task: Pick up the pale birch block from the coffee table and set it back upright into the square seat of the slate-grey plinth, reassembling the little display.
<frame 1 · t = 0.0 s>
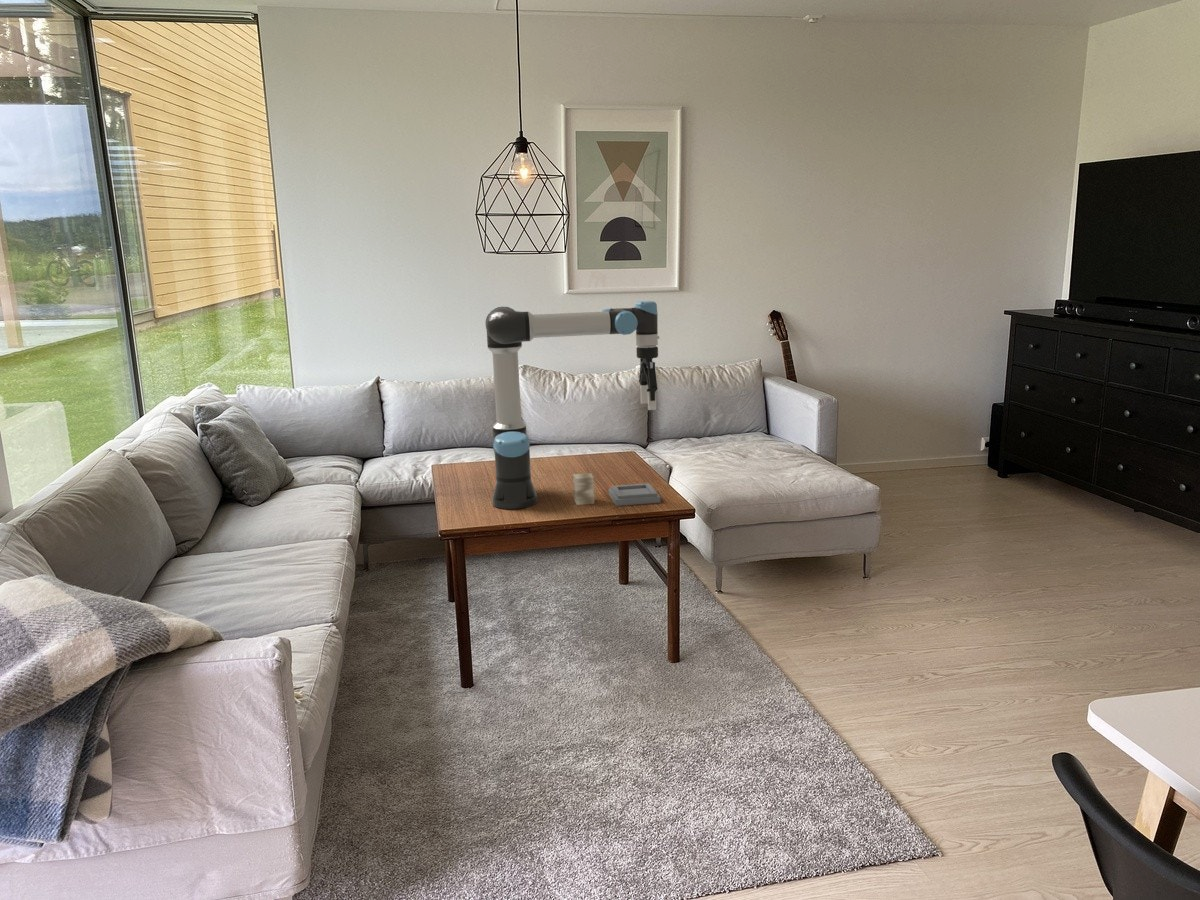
hand: (648, 406, 309), 28 cm above the table, fingers open, 13 cm apart
slate plinth: (634, 498, 296), on the table
birch block: (584, 501, 294), on the table
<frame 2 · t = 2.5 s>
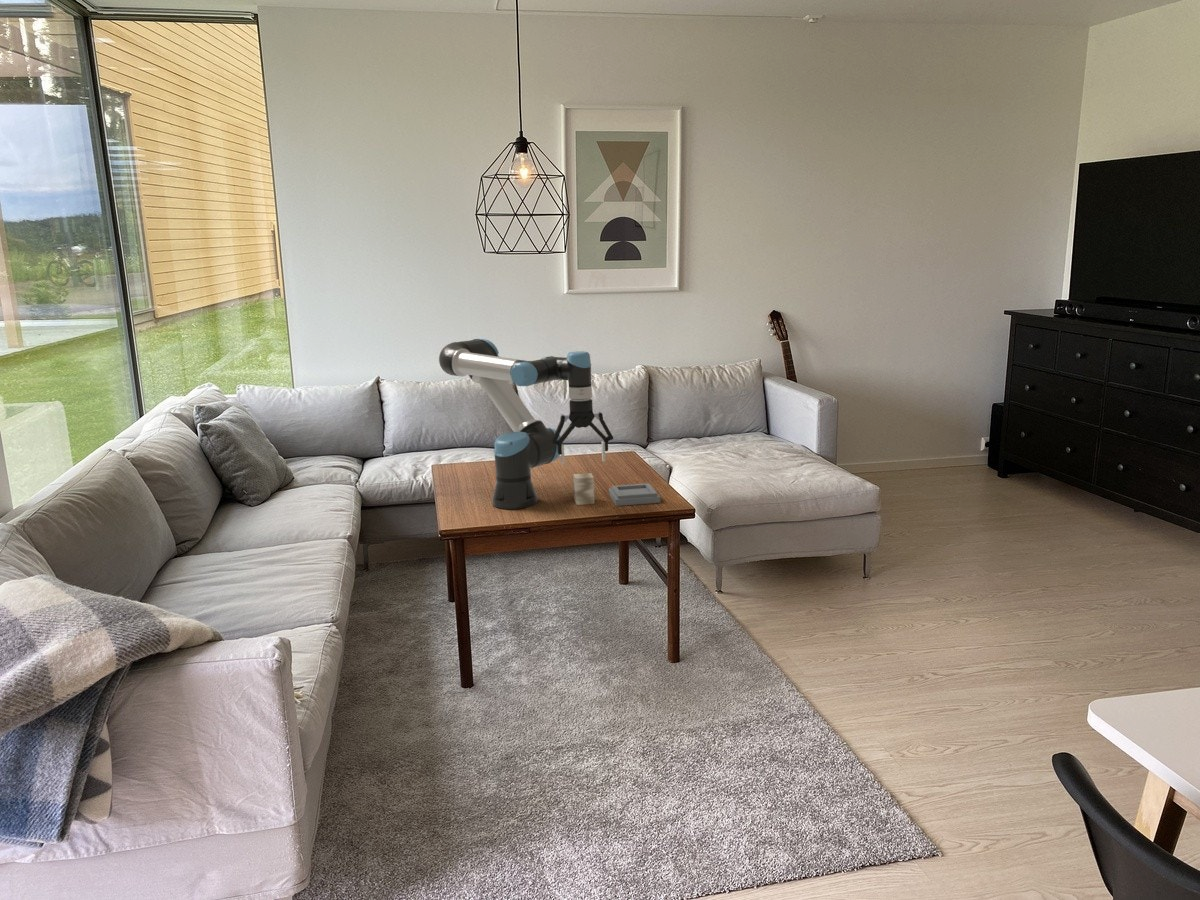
hand: (583, 462, 291), 14 cm above the table, fingers open, 13 cm apart
nothing on the table moved.
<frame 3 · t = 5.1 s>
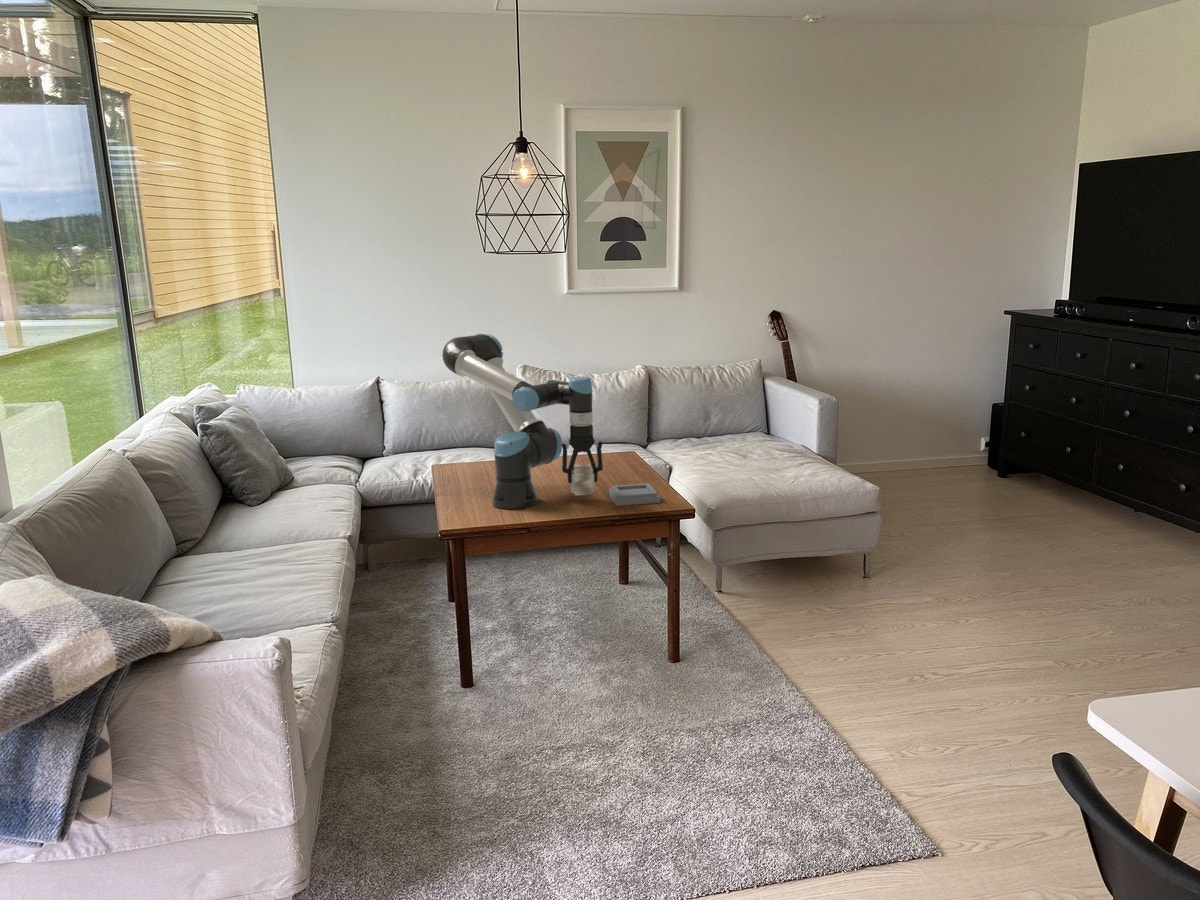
hand: (582, 491, 293), 3 cm above the table, fingers closed on birch block, 6 cm apart
birch block: (582, 492, 294), point 3 cm above the table, touching gripper
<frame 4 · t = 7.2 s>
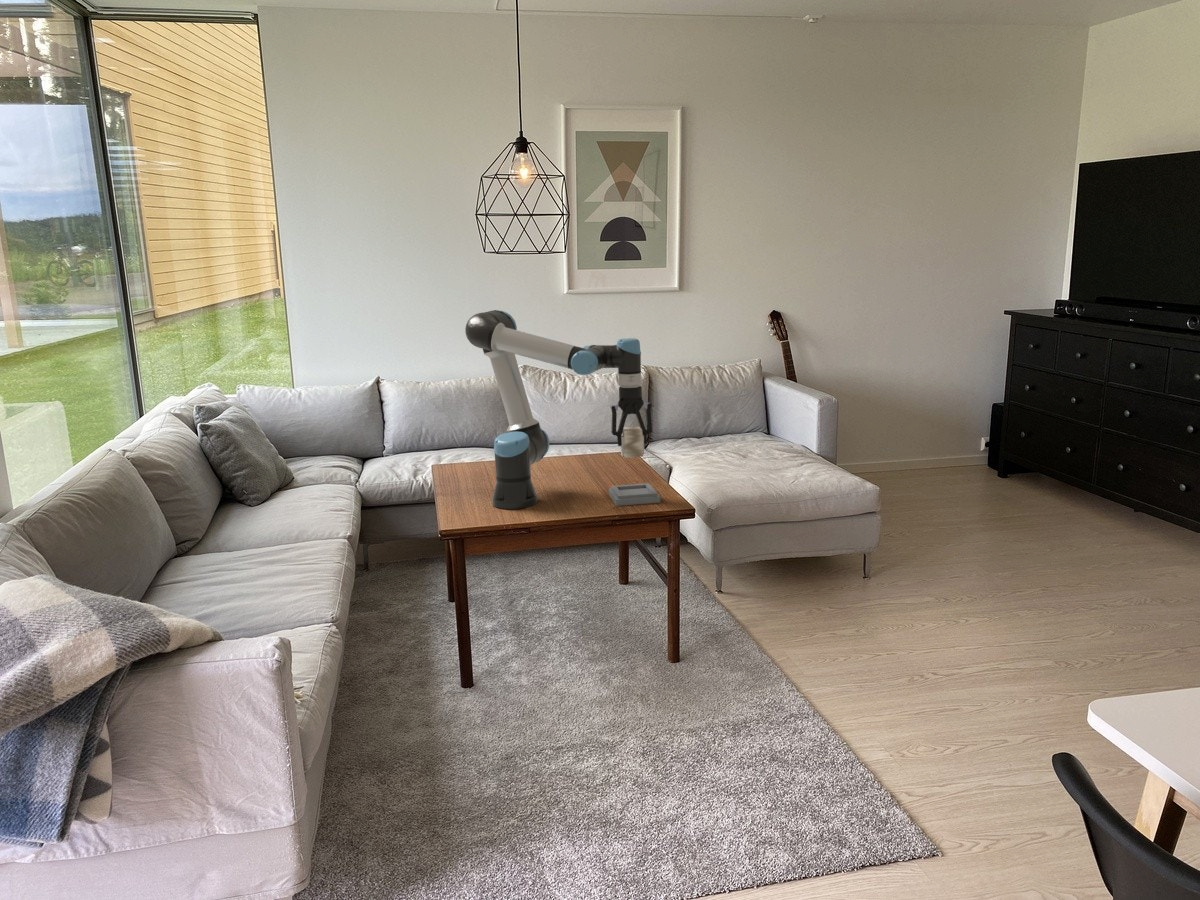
hand: (632, 454, 292), 15 cm above the table, fingers closed on birch block, 6 cm apart
birch block: (632, 455, 293), point 15 cm above the table, touching gripper
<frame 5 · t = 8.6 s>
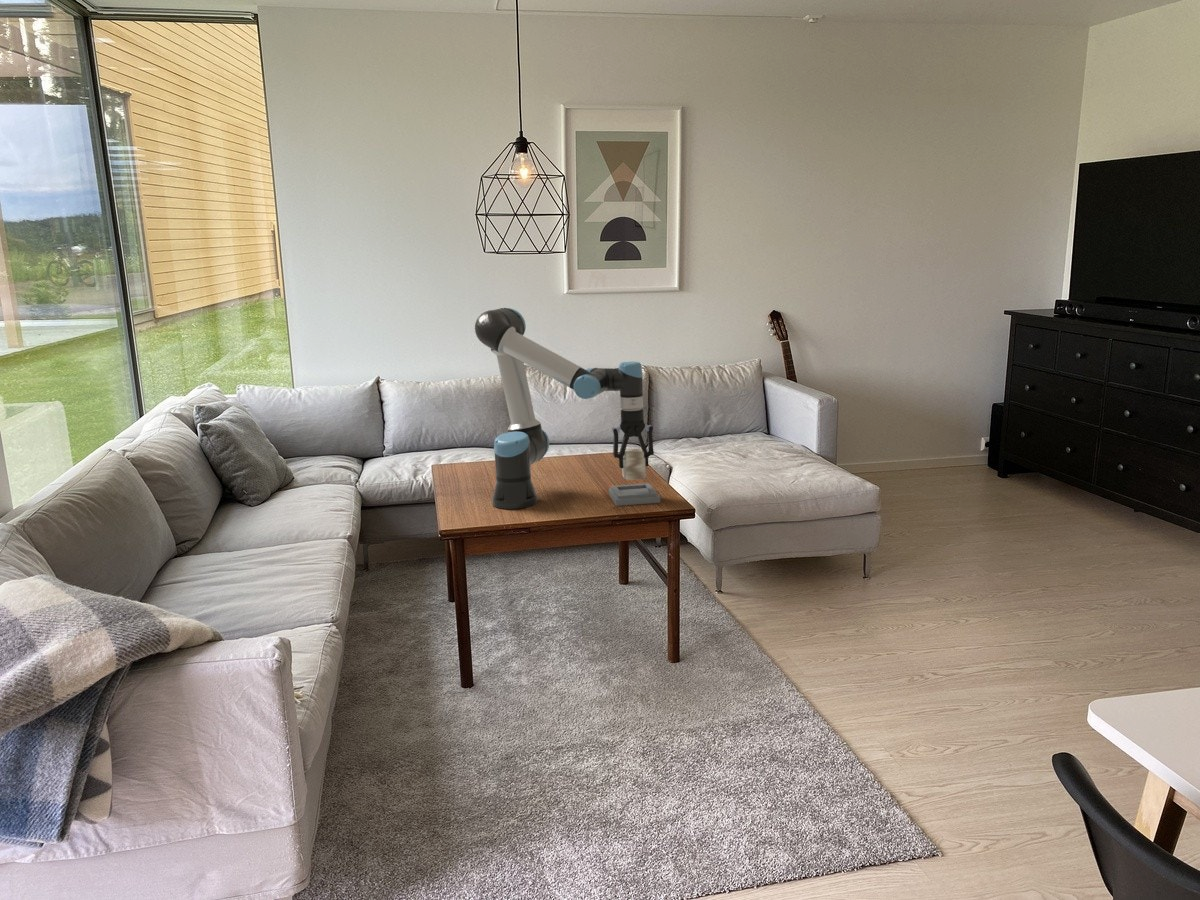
hand: (634, 476, 294), 8 cm above the table, fingers closed on birch block, 6 cm apart
birch block: (634, 477, 294), point 7 cm above the table, touching gripper
when the fingers open (4 cm above the table, at t = 9.5 s): birch block drops 2 cm, resting on slate plinth.
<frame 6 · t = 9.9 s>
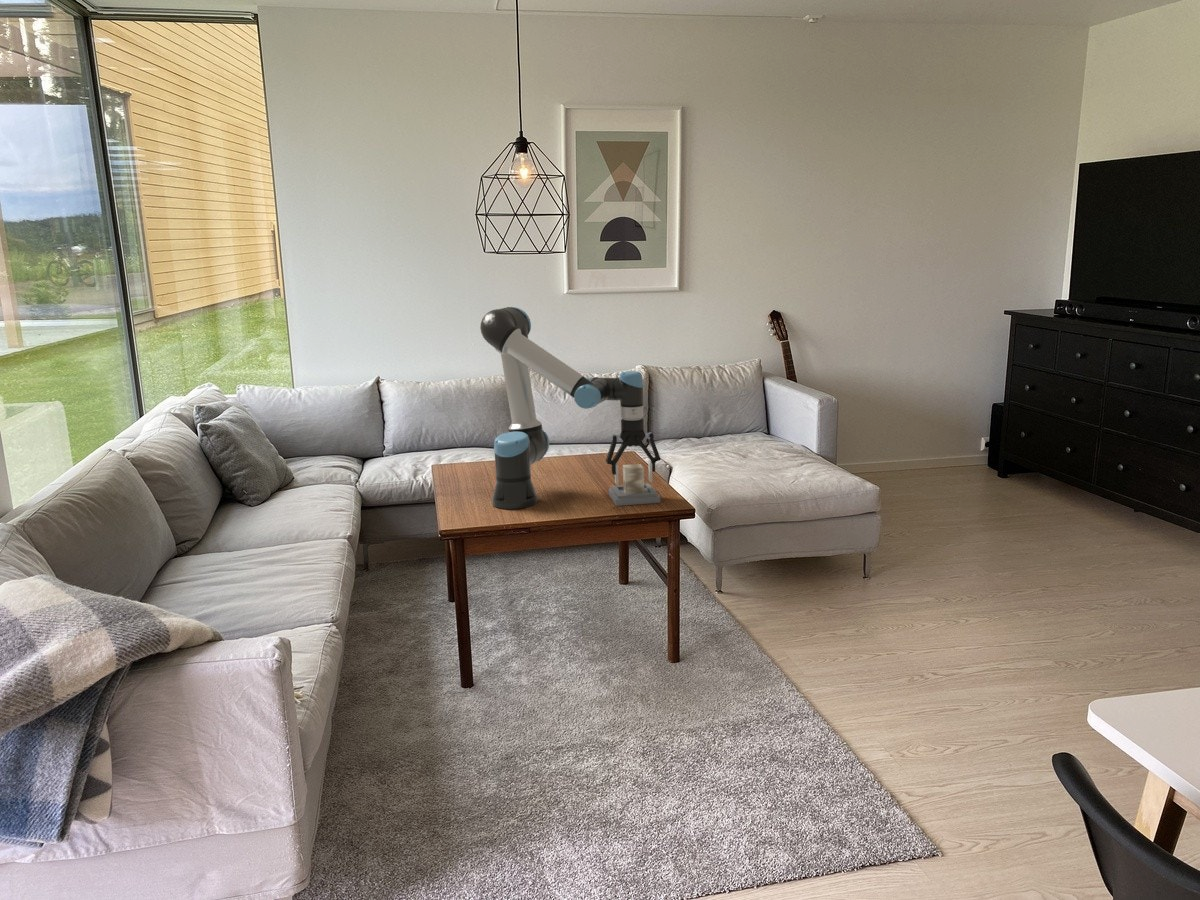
hand: (633, 482, 295), 5 cm above the table, fingers open, 11 cm apart
birch block: (633, 492, 296), point 2 cm above the table, touching slate plinth
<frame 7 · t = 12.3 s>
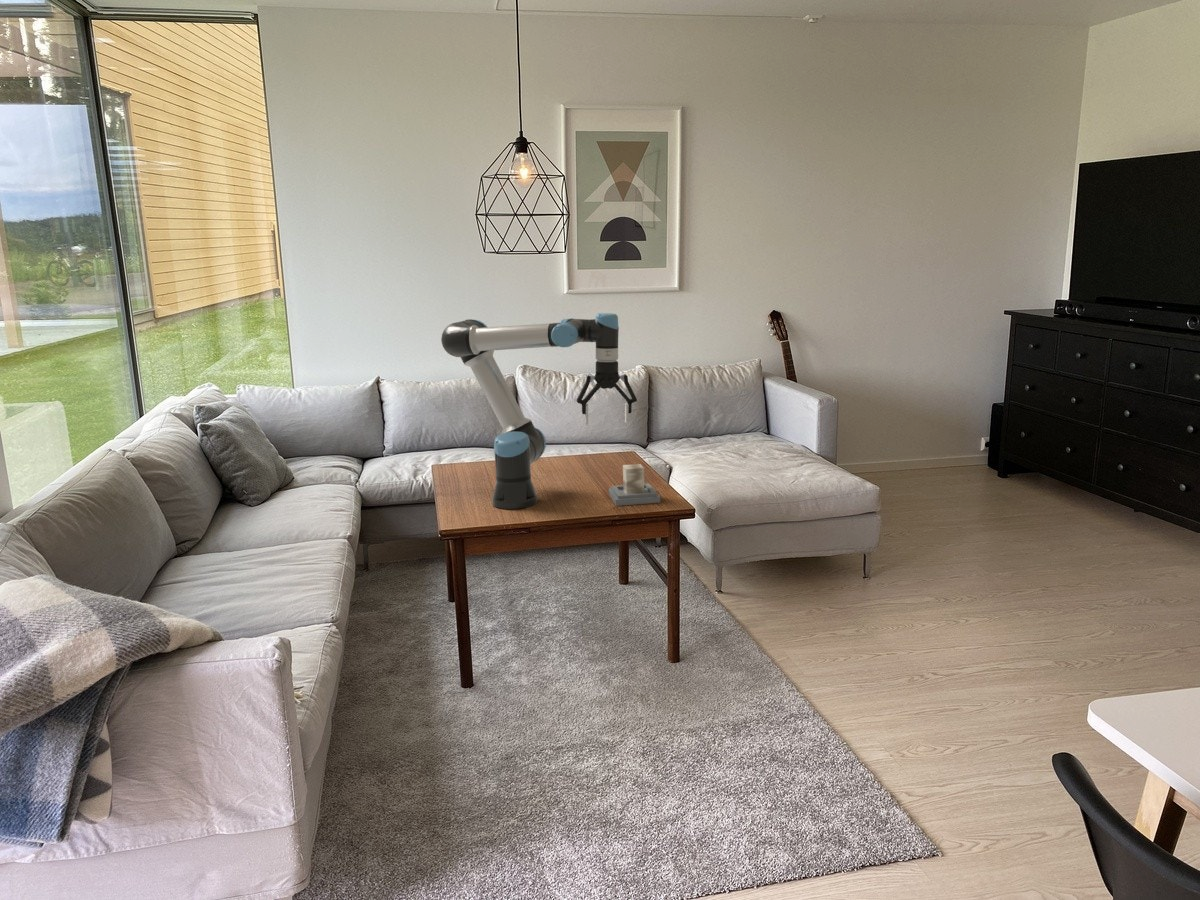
hand: (606, 423, 295), 25 cm above the table, fingers open, 13 cm apart
nothing on the table moved.
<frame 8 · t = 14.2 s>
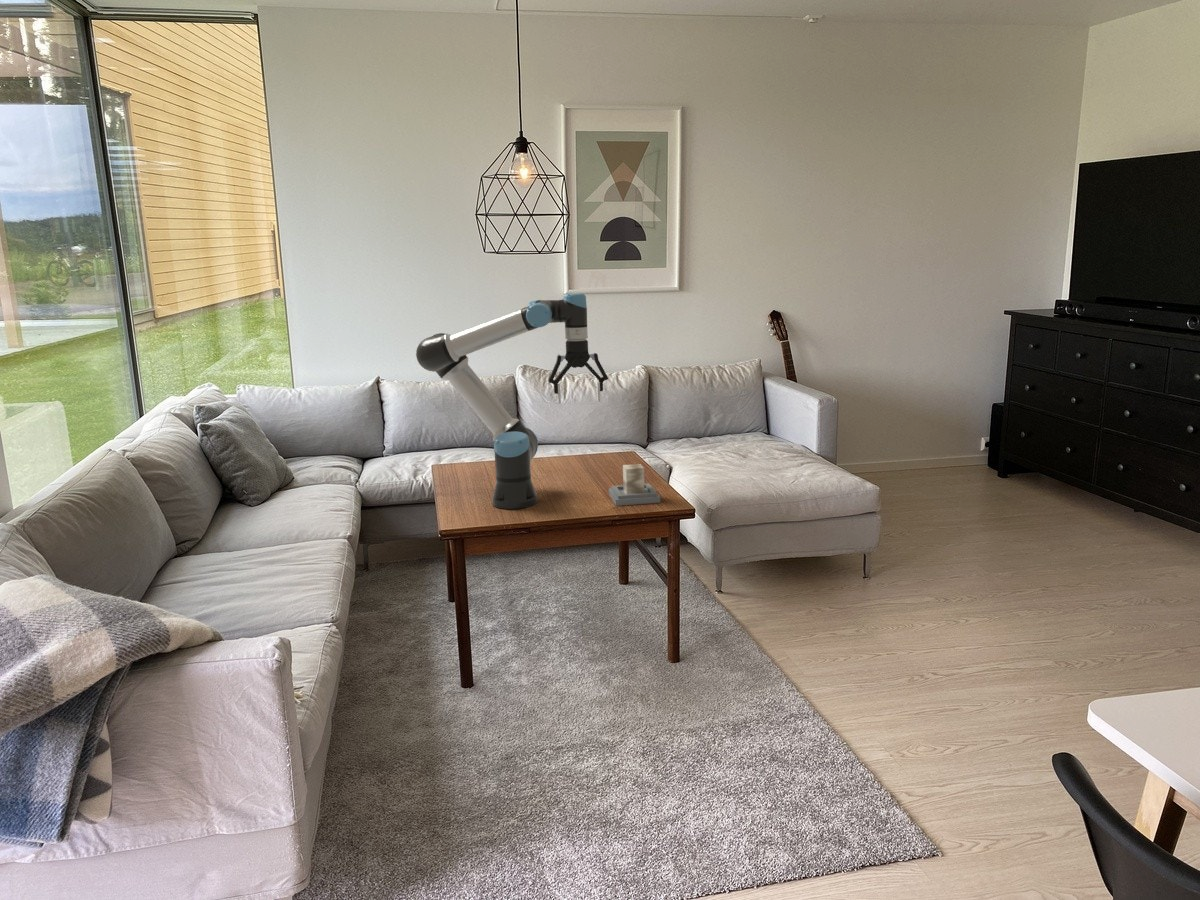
hand: (579, 402, 299), 32 cm above the table, fingers open, 13 cm apart
nothing on the table moved.
at the end: birch block 0.1 cm off-centre on the slate plinth, point 2.0 cm above the slate plinth's base; birch block tilted 0°; the gripper is holding nothing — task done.
